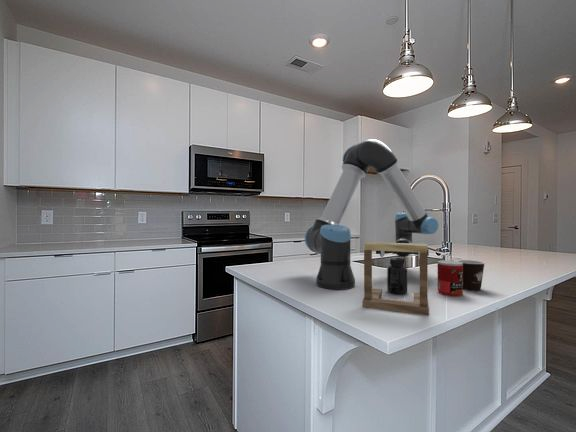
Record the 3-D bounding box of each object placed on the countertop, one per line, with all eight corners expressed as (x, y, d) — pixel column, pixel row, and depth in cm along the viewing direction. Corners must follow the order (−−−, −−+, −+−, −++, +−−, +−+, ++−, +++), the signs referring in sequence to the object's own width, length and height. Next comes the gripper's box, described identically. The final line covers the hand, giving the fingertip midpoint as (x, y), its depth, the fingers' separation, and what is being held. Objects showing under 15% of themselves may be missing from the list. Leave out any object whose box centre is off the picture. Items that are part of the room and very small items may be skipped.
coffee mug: (476, 286, 111) (476, 260, 111) (489, 292, 103) (489, 264, 103) (444, 285, 113) (444, 259, 112) (455, 291, 104) (455, 263, 104)
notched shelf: (370, 294, 101) (370, 239, 101) (427, 300, 94) (427, 241, 94) (362, 306, 88) (362, 244, 88) (428, 315, 80) (428, 246, 80)
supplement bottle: (411, 294, 101) (411, 259, 101) (395, 295, 99) (395, 260, 99) (399, 289, 108) (399, 256, 108) (383, 290, 106) (383, 257, 106)
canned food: (454, 297, 97) (454, 264, 96) (432, 292, 104) (432, 261, 104) (468, 294, 100) (468, 262, 100) (446, 289, 107) (446, 259, 107)
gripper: (433, 256, 127) (436, 265, 107) (374, 254, 137) (367, 262, 118) (433, 239, 127) (436, 245, 107) (374, 238, 137) (366, 243, 117)
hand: (400, 254), depth 112 cm, fingers open, 13 cm apart
